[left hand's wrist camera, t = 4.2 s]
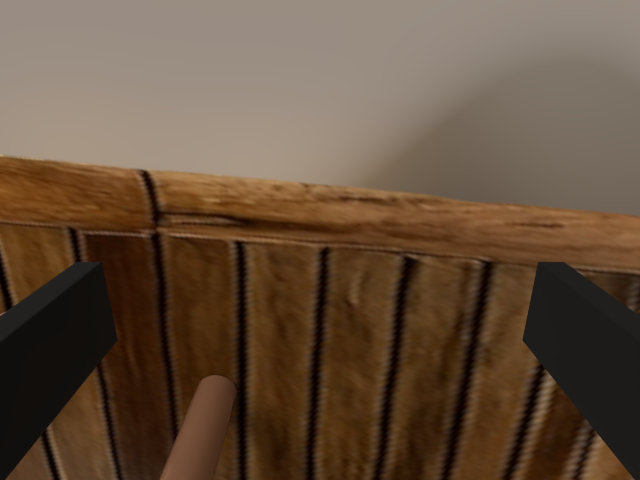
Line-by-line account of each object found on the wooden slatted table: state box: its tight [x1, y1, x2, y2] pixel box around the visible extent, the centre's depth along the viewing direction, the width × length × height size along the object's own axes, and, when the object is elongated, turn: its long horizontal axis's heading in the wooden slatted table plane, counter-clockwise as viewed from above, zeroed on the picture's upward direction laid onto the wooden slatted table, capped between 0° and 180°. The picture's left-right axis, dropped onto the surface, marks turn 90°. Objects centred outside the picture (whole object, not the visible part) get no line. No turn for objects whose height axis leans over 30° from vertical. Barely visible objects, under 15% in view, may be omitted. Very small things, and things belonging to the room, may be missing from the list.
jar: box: [159, 375, 237, 480], centre depth 40 cm, size 5×5×17 cm
